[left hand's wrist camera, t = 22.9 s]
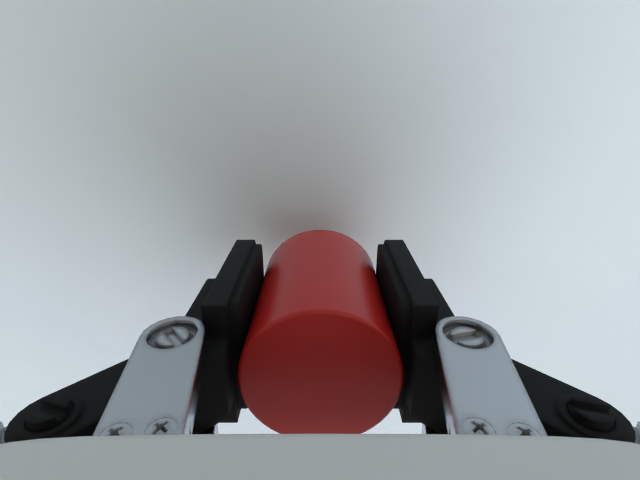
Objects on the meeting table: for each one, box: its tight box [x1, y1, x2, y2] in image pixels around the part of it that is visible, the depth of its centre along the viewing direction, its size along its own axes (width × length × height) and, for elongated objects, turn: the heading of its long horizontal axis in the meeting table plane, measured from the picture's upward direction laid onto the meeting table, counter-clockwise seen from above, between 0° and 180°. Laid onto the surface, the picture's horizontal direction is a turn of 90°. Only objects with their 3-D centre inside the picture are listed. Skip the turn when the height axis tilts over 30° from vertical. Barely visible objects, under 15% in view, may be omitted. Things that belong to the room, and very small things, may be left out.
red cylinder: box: [238, 230, 404, 434], centre depth 10 cm, size 4×4×5 cm
